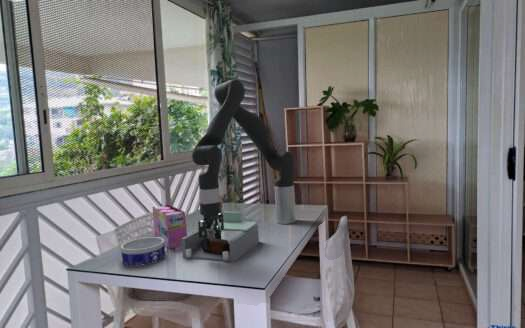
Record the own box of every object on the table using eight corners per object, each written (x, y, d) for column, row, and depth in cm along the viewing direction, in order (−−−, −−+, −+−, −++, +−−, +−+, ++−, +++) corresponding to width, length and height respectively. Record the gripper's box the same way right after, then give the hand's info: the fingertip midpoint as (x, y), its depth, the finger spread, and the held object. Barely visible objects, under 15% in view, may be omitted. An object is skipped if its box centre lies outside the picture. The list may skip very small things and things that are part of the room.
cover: (210, 222, 154) (209, 211, 153) (257, 223, 146) (256, 212, 146) (197, 229, 144) (196, 217, 144) (246, 231, 136) (245, 219, 136)
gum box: (153, 236, 166) (150, 206, 165) (171, 232, 170) (168, 203, 169) (169, 249, 146) (166, 215, 145) (188, 244, 150) (185, 211, 149)
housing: (212, 239, 155) (211, 222, 154) (259, 241, 147) (257, 224, 146) (180, 258, 133) (178, 239, 133) (232, 263, 125) (231, 242, 125)
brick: (201, 251, 137) (200, 239, 136) (209, 248, 140) (208, 236, 140) (224, 255, 131) (223, 242, 131) (231, 252, 134) (230, 239, 134)
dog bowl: (150, 249, 148) (148, 234, 147) (174, 255, 138) (172, 239, 137) (114, 261, 136) (112, 245, 135) (137, 269, 126) (135, 252, 126)
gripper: (210, 197, 141) (213, 239, 142) (190, 204, 128) (193, 250, 129) (228, 197, 138) (231, 240, 139) (209, 204, 125) (212, 251, 126)
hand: (212, 245), depth 134 cm, fingers open, 8 cm apart
